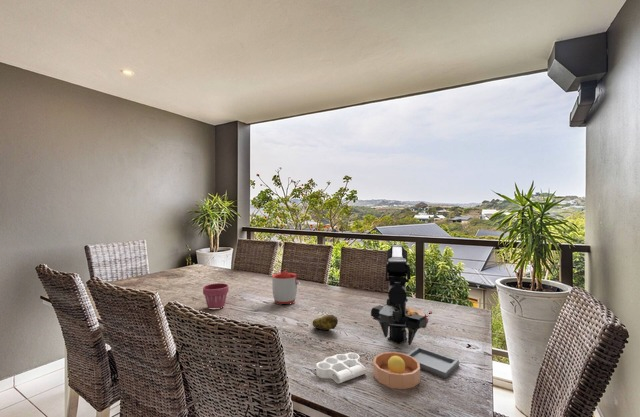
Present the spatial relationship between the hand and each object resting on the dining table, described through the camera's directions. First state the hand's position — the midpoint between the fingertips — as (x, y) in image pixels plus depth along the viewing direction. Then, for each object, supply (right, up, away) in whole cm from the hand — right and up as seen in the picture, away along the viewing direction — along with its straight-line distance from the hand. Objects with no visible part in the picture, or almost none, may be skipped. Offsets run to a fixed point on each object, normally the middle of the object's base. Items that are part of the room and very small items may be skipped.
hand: (397, 340), depth 107 cm
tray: (+14, -12, +8) cm, 20 cm away
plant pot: (-88, -13, +74) cm, 115 cm away
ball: (0, -9, 0) cm, 9 cm away
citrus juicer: (-48, -12, +83) cm, 96 cm away
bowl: (0, -12, 0) cm, 12 cm away
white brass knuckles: (-19, -13, +4) cm, 24 cm away
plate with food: (+18, -13, +60) cm, 64 cm away
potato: (-25, -12, +40) cm, 48 cm away
